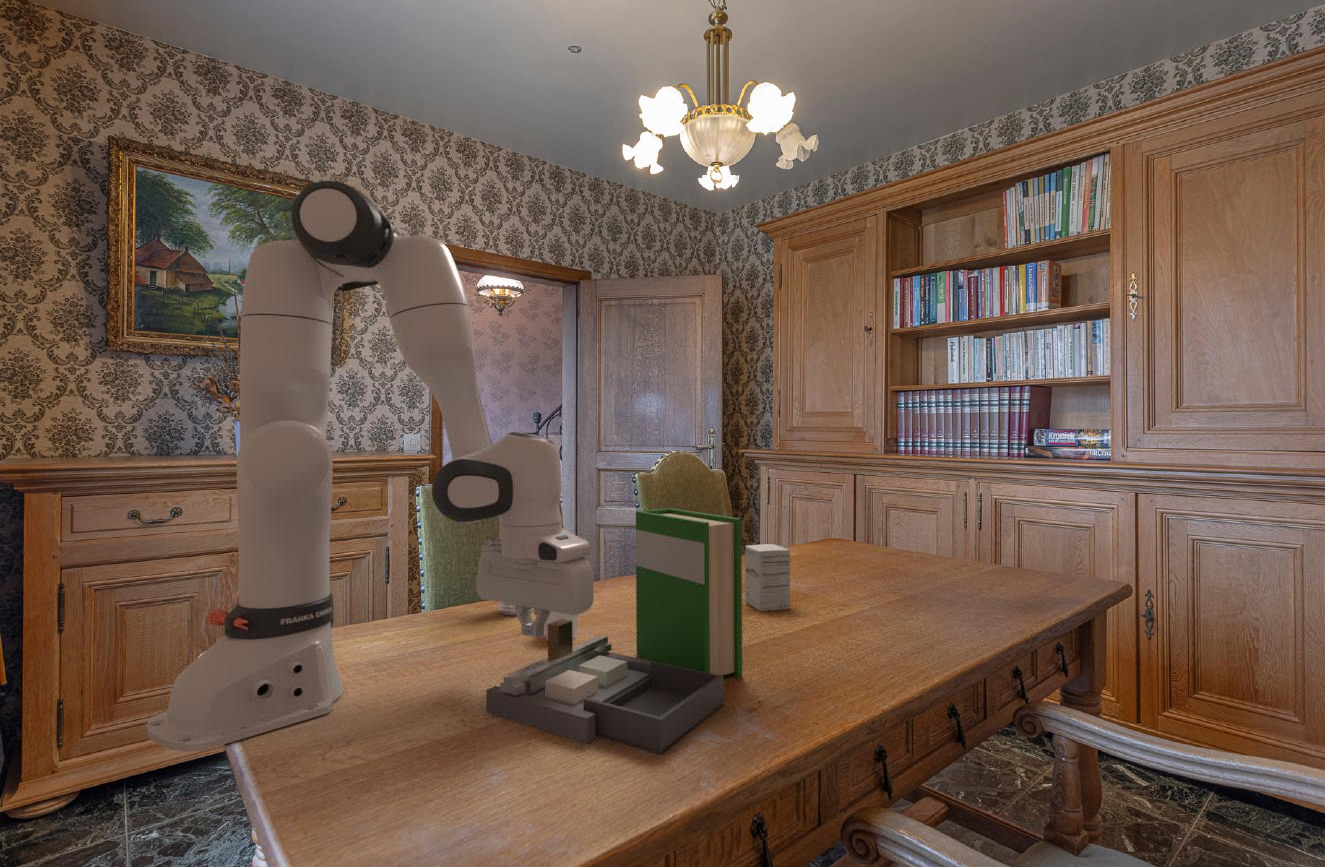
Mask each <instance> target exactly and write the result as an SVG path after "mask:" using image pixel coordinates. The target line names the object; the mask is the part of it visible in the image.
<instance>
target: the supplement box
mask: <svg viewBox="0 0 1325 867" xmlns="http://www.w3.org/2000/svg"><path fill="white" fill-rule="evenodd" d="M744 548H745V549H744V550H745V554H744V555H745V556H744V557H745V560H744V563H745V566H744V567H745V574H744V575H745V576H744V577H745V579H744V580H745V584H744V586H745V588H744V590H745V591H744V592H745V595H744V596H745V598H744V599H745V603H746V604H748V605H750V606H751V607H753V608H755V609H756V610H758V611H759V612H766V611H768V610H770V611H778V610H779V611H780V610H789V609H791V549H788V548H786V547H783V546H780V545H778V544H775V543H769V544H767V543H766V544H752V545H745V546H744Z"/></svg>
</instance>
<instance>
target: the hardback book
mask: <svg viewBox="0 0 1325 867" xmlns="http://www.w3.org/2000/svg"><path fill="white" fill-rule="evenodd" d="M742 559H743V558H742V518H740V517H732V516H726V515H718V514H712V513H711V514H710V513H704V512H698V511H691V510H685V509H678V508H662V509H661V508H660V509H653V510H651V509H650V510H640V511H638V510H637V511H635V570H636V571H635V593H636V594H635V595H636V597H635V598H636V599H635V600H636V601H635V602H636V603H635V604H636V608H635V609H636V613H635V615H636V617H635V618H636V621H635V622H636V623H635V624H636V627H635V628H636V656H637V657H638V658H639V657H640V658H641V659H644V660H649V661H655V662H660V663H665V664H669V665H674V666H679V667H683V668H688V669H693V670H698V671H702V672H707V673H712V674H716V675H721V676H723V677H724V676H725V675H731V676H733V677H735V678H737V679H738V678H741V677H743V620H742V619H743V612H742V611H743V603H742V601H743V600H742V599H743V592H742V591H743V590H742V589H743V588H742V587H743V586H742V584H743V578H742V570H743V568H742V566H743V565H742Z"/></svg>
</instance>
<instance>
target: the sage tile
mask: <svg viewBox="0 0 1325 867" xmlns="http://www.w3.org/2000/svg"><path fill="white" fill-rule="evenodd" d="M578 672H581V673H585V674H589V675H593V676H597V677H598V684H599V685H603V686H609V685H610V684H612V683H614V682H616V681H618V680H619V679H621V678H623V677H625V676H627V661H624V660H619V659H614V658H610V657H605V656H601V655H599V656H597V657H595V658H593V659H591V660H589V661H587V662H585V663H583V664H580V665H578Z"/></svg>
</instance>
